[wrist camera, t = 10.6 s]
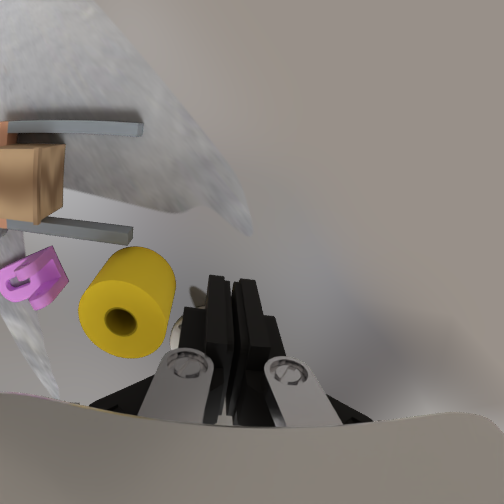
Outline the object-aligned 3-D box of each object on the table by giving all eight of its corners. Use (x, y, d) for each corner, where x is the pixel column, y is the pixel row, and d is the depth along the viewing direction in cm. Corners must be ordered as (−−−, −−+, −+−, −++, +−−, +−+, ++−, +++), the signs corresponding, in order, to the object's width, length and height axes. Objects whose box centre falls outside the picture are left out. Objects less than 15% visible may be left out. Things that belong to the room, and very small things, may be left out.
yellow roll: (125, 322, 42) (108, 366, 34) (90, 262, 39) (62, 297, 30) (188, 301, 42) (182, 345, 33) (155, 235, 38) (138, 266, 30)
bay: (132, 238, 38) (127, 245, 36) (8, 222, 35) (-1, 227, 33) (143, 123, 33) (138, 123, 31) (10, 121, 30) (0, 121, 28)
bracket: (52, 245, 37) (28, 266, 31) (69, 281, 39) (48, 306, 33) (-5, 270, 38) (-29, 290, 31) (11, 301, 40) (-10, 324, 33)
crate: (64, 208, 36) (37, 225, 29) (15, 203, 35) (-15, 218, 28) (67, 142, 33) (38, 147, 26) (16, 141, 32) (-16, 147, 25)
